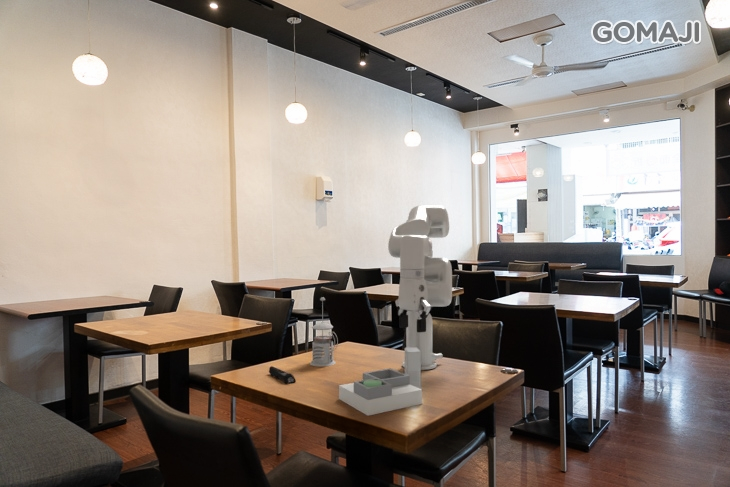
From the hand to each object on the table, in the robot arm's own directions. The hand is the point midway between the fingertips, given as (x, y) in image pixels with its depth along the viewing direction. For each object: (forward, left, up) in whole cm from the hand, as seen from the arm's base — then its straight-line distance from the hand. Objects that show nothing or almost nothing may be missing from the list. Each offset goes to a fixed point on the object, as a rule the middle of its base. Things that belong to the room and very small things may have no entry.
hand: (412, 329), depth 152 cm
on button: (+21, +10, -14) cm, 27 cm away
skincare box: (0, 0, -18) cm, 18 cm away
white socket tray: (+16, +6, -18) cm, 25 cm away
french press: (+10, -42, -18) cm, 47 cm away
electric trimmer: (+32, -31, -19) cm, 48 cm away
